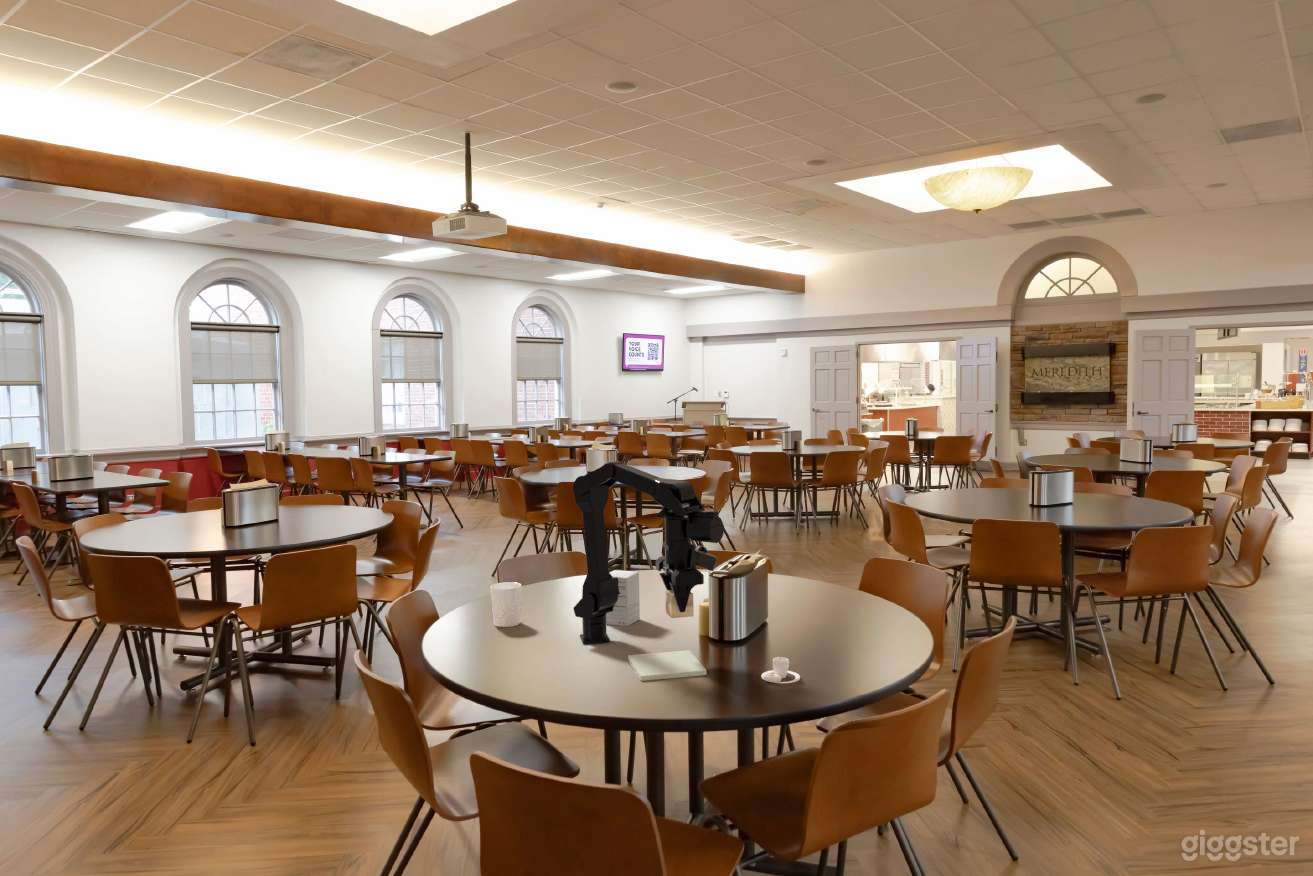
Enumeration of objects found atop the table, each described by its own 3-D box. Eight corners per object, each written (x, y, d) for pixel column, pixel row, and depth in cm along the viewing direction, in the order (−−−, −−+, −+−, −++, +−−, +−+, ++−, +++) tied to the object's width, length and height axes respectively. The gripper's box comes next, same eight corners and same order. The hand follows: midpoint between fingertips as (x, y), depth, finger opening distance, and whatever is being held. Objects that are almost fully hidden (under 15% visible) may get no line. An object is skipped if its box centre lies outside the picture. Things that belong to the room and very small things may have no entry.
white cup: (501, 629, 208) (500, 590, 207) (485, 623, 214) (484, 585, 213) (528, 623, 213) (527, 585, 212) (512, 618, 219) (511, 580, 218)
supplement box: (615, 616, 218) (614, 569, 218) (640, 619, 215) (639, 571, 215) (602, 623, 212) (601, 575, 211) (627, 626, 209) (626, 577, 208)
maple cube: (665, 612, 184) (665, 590, 184) (687, 610, 186) (686, 588, 185) (671, 618, 180) (671, 595, 179) (693, 616, 181) (693, 593, 181)
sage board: (628, 659, 182) (628, 655, 182) (689, 654, 185) (689, 650, 185) (640, 680, 169) (640, 676, 169) (706, 674, 172) (706, 670, 172)
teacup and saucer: (770, 688, 165) (770, 668, 164) (750, 676, 172) (750, 657, 172) (808, 682, 168) (807, 662, 168) (786, 670, 175) (786, 651, 175)
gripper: (726, 543, 175) (727, 616, 175) (700, 530, 193) (701, 596, 193) (675, 547, 172) (676, 621, 173) (654, 533, 190) (655, 600, 191)
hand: (679, 608), depth 183 cm, fingers closed on maple cube, 5 cm apart
